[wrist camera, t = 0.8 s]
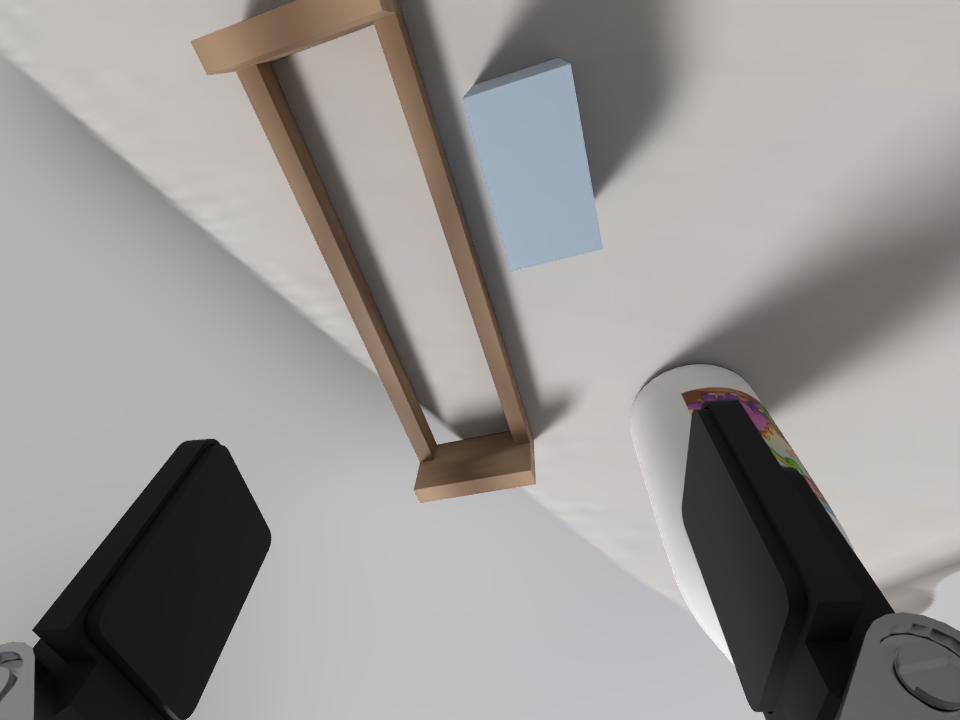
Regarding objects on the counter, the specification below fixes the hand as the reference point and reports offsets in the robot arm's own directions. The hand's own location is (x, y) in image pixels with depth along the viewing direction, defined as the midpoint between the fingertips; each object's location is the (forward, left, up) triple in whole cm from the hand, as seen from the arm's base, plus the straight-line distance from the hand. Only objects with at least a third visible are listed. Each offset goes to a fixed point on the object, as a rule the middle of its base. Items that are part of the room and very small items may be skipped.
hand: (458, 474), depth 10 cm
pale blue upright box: (-3, -2, -19) cm, 20 cm away
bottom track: (+5, +3, -19) cm, 20 cm away
